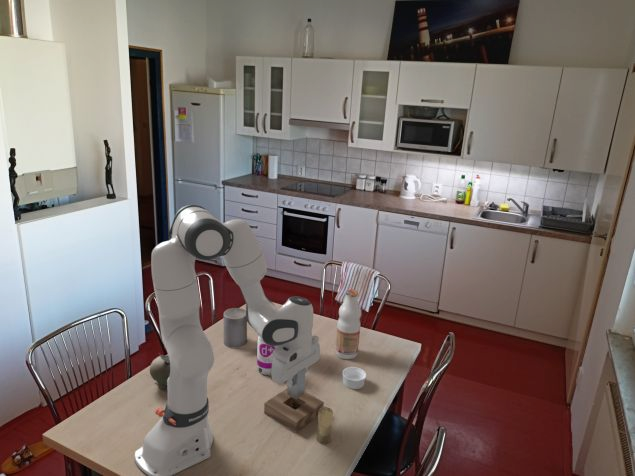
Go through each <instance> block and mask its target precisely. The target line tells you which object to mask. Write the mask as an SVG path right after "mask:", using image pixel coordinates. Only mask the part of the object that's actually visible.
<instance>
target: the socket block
mask: <svg viewBox="0 0 635 476" xmlns="http://www.w3.org/2000/svg"><path fill="white" fill-rule="evenodd" d="M263 404H264V405H263V406H264V409H263V413H264V415H266V416H267V417H269V418H270V419H273V421H276V422H277V423H279V424H280V425H282V426H284V427H286V428H287V429H289V430H291V431H292V432H293V433H294V434H297V433H299V431H301V430H302V429H303V428H305V427H306V426H307V425H309V424H310V423H311V422H312V421H314V420H315V419H316V418H318V412H319V409H320V408H323V407H325V406H324V405H325V402H324V401H322V400H321V399H319V398H317V397H316V396H314V395H312V394H310V393H308V392H306V391H305V390H304V395H302V396H301V397H300V398H298V399H297V400H296V399H294V398H292V397H291V396H289V395H287V388H285V389H284V390H282V391H281V392H279V393H278V394H276V395H275V396H273V397H271V398H270V399H268V400H267V401H265V402H264V403H263ZM293 406H294V407H295V408H296V409H294V408H293Z"/></svg>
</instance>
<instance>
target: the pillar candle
mask: <svg viewBox="0 0 635 476" xmlns="http://www.w3.org/2000/svg"><path fill="white" fill-rule="evenodd" d="M247 342H248V322H247V320H246V309H243V308H240V307H231V308H228V309H226V310H225V311H224V312H223V345H224V346H225V347H227V348H230V349H233V348H234V349H235V348H238V349H239V348H242V347H244V346H245V345H247Z"/></svg>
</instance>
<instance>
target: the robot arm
mask: <svg viewBox="0 0 635 476" xmlns="http://www.w3.org/2000/svg"><path fill="white" fill-rule="evenodd" d="M168 237H169V239H168V240H166V241H162V242H160V243H158V244H156V245H155V247H154V248H153V249H152V251H151V256H150V257H151V261H150V262H151V263H150V264H151V265H150V266H151V267H150V268H151V278H152V284H153V290H154V294H155V298H156V305H157V308H158V318H159V329H160V334H161V339H162V343H163V345H164V347H165V349H166V353H167V356H169V359H170V376H169V378H168V380H167V402H166V404H165V407H164V409H163V408H161V407H157V408H156V409H155V411H154V412H155V415H157V416H158V417H159V418H160V419H159V420H158V421H157V422H156V424H155V425H154V426H153V427H152V428H151V429H150V430H149V432H148V433H147V434H146V435H145V436H144V439H143V445H142V446H141V447H140V448H138V449H137V450H136V451H135V452H134V461H135V464H136V465H137V467H138V468H139V469H140V471H142V472H143V473H144V474H146V475H147V476H174V475H176V474H177V473H180V472H181V471H184V470H185V469H188V468H190V467H193V466H194V465H196V464H198V463H200V462H203V461H204V460H207V459H208V458H210V457H211V452H212V451H211V448H212V445H213V441H214V438H213V434H212V431H211V428H210V423H209V411H210V409H209V407H210V405H209V398H208V374H209V372H210V371H211V369H212V368H213V365H214V363H215V356H214V350H213V346H212V344H211V342H210V340H209V338H208V337H207V336H206V333H205V332H204V330H203V327H202V325H201V321H200V307H201V298H200V297H201V296H200V292H199V286H198V280H197V274H196V270H195V268H196V267H195V263H196V258H197V259H199V260H202V261H204V260H205V261H210V260H214V259H216V258H219V257H222V261H223V262H224V265H225V267H226V270H227V271H228V272H229V273H228V274H229V275H230V276H231V278H232V279H233V280H234V282H235V283H236V285H238V287H239V288H240V289H239V290H240V291H241V293H242V296H243V299H244V301H245V311H246V320H247V325H249V326H250V327H251V328H252V329H253V330H254V331H255V332H256V333H257V335H258V337H259V336H260V337H261V339H262V340H263V341H264V342H265V343H266V344H267V345H270V346H277V347H276V348H275V349H274V351H273V356H274V357H275V358H274V360H273V362H272V374H271V379H272V380H273V381H274V382H276V383H277V384H279V385H282V384H284V383H285V382H286V383H287V384H286V385H287V386H288V387H290V388H291V387H292V386H294V381H292V380H291V379H292V378H293V376H295V375H296V374H297V373H298V372H299V371H301V370H302V369H304V368H306V371H305V375H306V374H307V372H308V370H309V367H310V366H312V365H314V364H315V363H316V362H318V361H319V360H320V358H321V347H320V343H319V336H317V335H313V334H312V329H313V327H314V308H313V305H312V303H311V302H310V301H309V300H308V299H307V298H305V297H303V296H298V295H297V296H296V295H294V296H290V297H289V298H288V299H287V300H286V302H285V303H283V305H282V306H280V307H279V308H277V307H276V305H275V304H274V303H273V302H272V301H271V300H270V299H269V298H268V297H266V295H265V292H264V289H263V287H262V284H261V280H262V279H263V278H264V277H265V275H266V274H267V270H268V266H267V261H266V260H267V259H266V257H265V254H264V251H263V248H262V246H261V244H260V242H259V239H258V238H257V235H256V233H255V232H254V230H253V229H252V228H251V226H250V225H249V223H248V222H247V221H246V220H243V219H240V218H239V219H238V218H237V219H235V218H234V219H230V220H227V221H226V222H221V221H220V220H218V219H217V217H215V215H213V213H212V212H210V211H209V210H207V209H206V208H205V207H203V206H200V205H196V204H189V205H185V206H182V207H181V208H179V210H177V212H176V213H175V215H174V218H173V221H172V224H171V226H170V229H169V232H168Z"/></svg>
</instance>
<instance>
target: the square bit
mask: <svg viewBox="0 0 635 476" xmlns="http://www.w3.org/2000/svg"><path fill="white" fill-rule="evenodd" d="M305 371H306V368H304V369H302V370H301V371H299V372H298V373H297V374H296V375H295V376H293V378H292V379H291V380H292V381H294V386H292V387H291V388H290V387H288V386H287V388H286V389H287V395H289V396H291V397H292V398H294V399H296V400H297V399H298V398H300V397H301V396H302V395H304V391H305V388H306V387H305V385H306V374H305Z"/></svg>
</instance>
